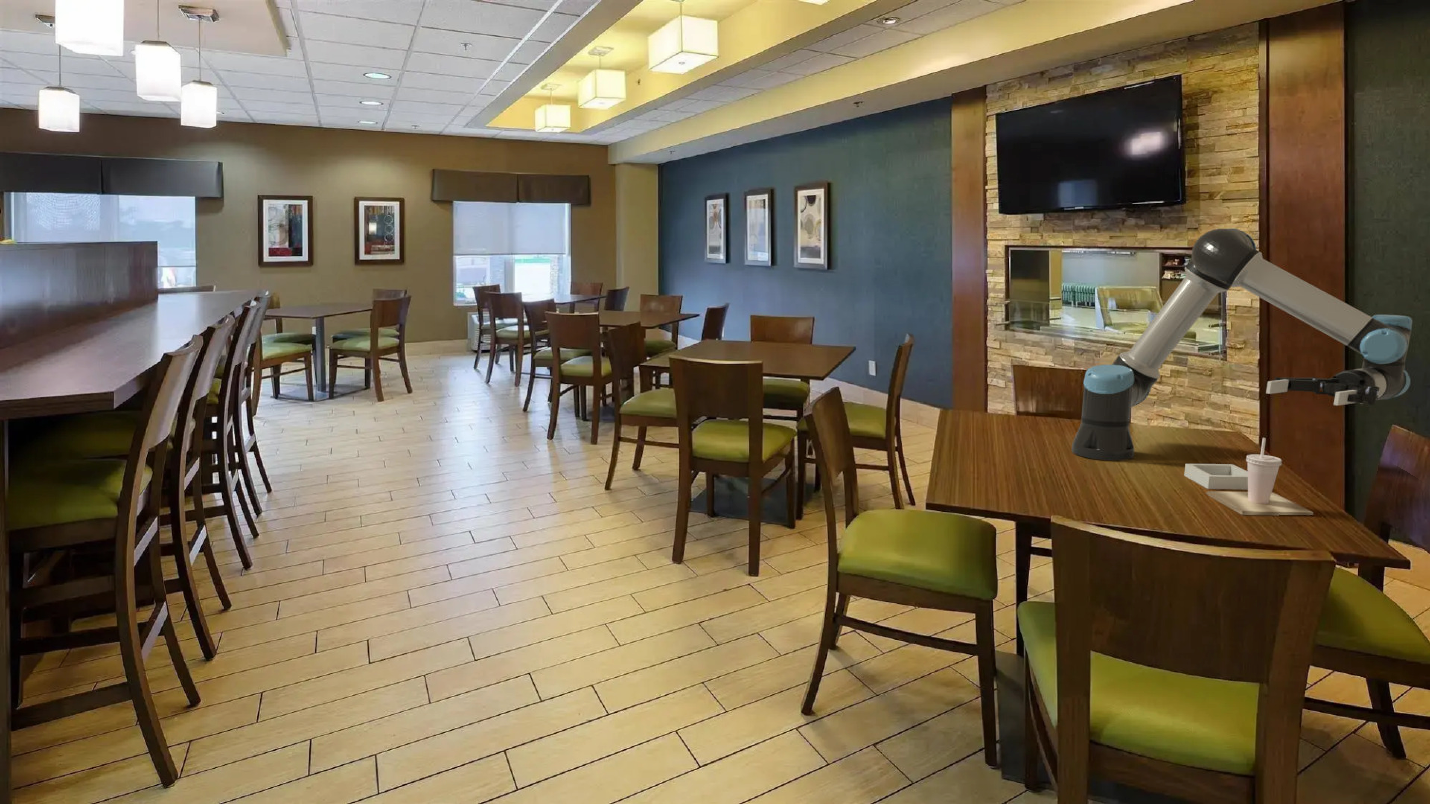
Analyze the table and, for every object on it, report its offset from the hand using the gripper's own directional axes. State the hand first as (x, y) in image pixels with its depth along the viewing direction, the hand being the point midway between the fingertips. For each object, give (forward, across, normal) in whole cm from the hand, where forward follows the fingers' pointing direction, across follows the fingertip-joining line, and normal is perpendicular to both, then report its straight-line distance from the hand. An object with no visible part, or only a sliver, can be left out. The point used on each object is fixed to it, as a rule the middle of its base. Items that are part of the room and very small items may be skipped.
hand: (1301, 393), depth 174 cm
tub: (0, +14, -24) cm, 28 cm away
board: (+10, 0, -24) cm, 26 cm away
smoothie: (+10, 0, -23) cm, 25 cm away
